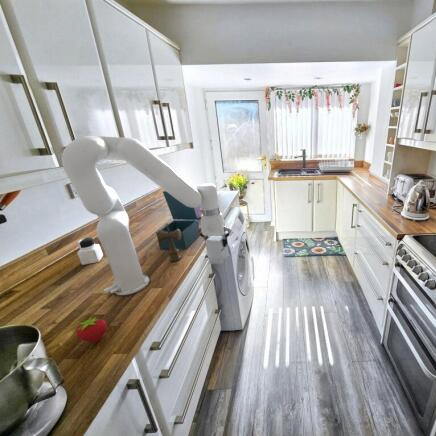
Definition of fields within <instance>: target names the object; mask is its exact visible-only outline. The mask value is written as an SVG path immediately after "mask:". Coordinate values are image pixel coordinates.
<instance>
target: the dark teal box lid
mask: <svg viewBox="0 0 436 436" xmlns="http://www.w3.org/2000/svg"><path fill="white" fill-rule="evenodd" d="M162 194H163V196H164V199H165V202H166V204H167V208H168V210H169V212H170V214H171V215H170V216H171V217H172V221H173V220H198V219H199V218H197V215H196V212H195V209H194V208H191V207H187V206H185V205H184V204H182V203H181V202H180V201H178V200H177V199H176V198H174V197H173V196H172V195H170V194H169V193H168V192H166V191H165V190H163V191H162Z"/></svg>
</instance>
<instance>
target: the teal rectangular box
mask: <svg viewBox="0 0 436 436" xmlns="http://www.w3.org/2000/svg"><path fill="white" fill-rule="evenodd" d="M167 224H168V227H169V230H170V232H173V231H175V230H177V229H180V231H181V239H180V240H175V239H173V238H172V240H173V243H174V245H175V247H176V249H178V250H187V249H188V248H189V247H190V246H191V245H193V243H194V242H195V241H196V240H197V239H198V238H199V237H201V236H200V234H199V233H198V232H197V230H198V229H200V226H199V220H198V219H197V220H173V219H172V220H171V221H170V222H169V223H167ZM160 229H161V230H163V231H165V232H168V231H167V227H166V225H164V226H163V227H162V228H160ZM157 232H158V230H157V231H156V232H155V234H156V236H157ZM157 242H158V246H159V249H160V250H170V244H169V238H167V239H165V240H163V241H162V242H159V241H158V240H157Z"/></svg>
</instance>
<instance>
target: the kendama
mask: <svg viewBox="0 0 436 436" xmlns="http://www.w3.org/2000/svg"><path fill="white" fill-rule="evenodd" d="M168 224H169V223H167V222H166V223H165V226H166V227H167V231H168V232H165V231H163V230H161V229H162V228H160V229H157V231H158V232H157V231H156V232H157V235H156V239H157V242H158V241H159V242H162V241H163V240H165V239H167V238H169V244H170V249H169V251H168V254H169V262H178V261H179V260H181V258H182V256H181V255H179V251H180V249H176V247H175V245H174V243H173V240H172V238H173V239H175V240H180V239H181V231H180V229H177V230H175V231H173V232H170V230H169V227H168ZM159 242H158V243H159Z"/></svg>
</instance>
